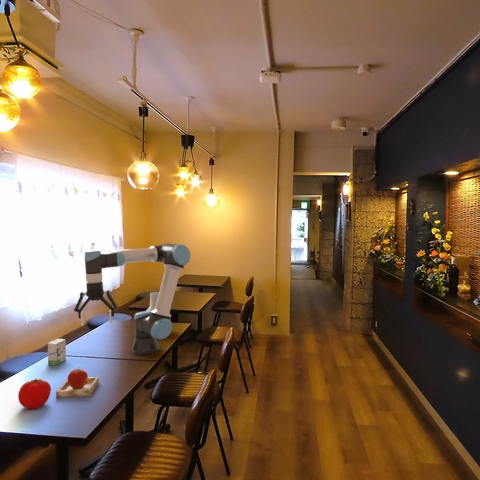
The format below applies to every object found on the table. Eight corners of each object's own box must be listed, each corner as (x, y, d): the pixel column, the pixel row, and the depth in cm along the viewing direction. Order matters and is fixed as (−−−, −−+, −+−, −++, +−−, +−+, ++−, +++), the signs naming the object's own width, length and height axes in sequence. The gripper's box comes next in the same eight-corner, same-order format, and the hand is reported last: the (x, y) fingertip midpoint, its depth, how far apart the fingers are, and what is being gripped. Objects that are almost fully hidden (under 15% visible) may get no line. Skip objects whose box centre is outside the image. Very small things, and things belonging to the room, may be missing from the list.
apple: (65, 388, 171) (64, 366, 170) (82, 383, 177) (82, 361, 176) (73, 394, 165) (72, 371, 165) (90, 387, 171) (90, 365, 171)
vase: (165, 337, 249) (164, 295, 248) (140, 337, 250) (139, 295, 248) (170, 330, 266) (169, 290, 265) (147, 330, 266) (146, 290, 265)
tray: (98, 383, 179) (98, 376, 178) (89, 396, 165) (89, 389, 165) (67, 384, 177) (67, 378, 177) (56, 398, 163) (55, 391, 163)
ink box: (58, 359, 211) (57, 338, 211) (66, 359, 210) (65, 338, 210) (47, 365, 203) (46, 343, 202) (56, 365, 202) (55, 343, 201)
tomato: (16, 415, 149) (15, 387, 149) (20, 403, 160) (19, 376, 159) (50, 409, 154) (49, 382, 153) (52, 397, 164) (51, 372, 164)
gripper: (121, 278, 193) (124, 320, 195) (70, 281, 190) (73, 323, 191) (119, 281, 186) (121, 324, 187) (65, 284, 183) (68, 328, 184)
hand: (97, 324), depth 189 cm, fingers open, 13 cm apart
